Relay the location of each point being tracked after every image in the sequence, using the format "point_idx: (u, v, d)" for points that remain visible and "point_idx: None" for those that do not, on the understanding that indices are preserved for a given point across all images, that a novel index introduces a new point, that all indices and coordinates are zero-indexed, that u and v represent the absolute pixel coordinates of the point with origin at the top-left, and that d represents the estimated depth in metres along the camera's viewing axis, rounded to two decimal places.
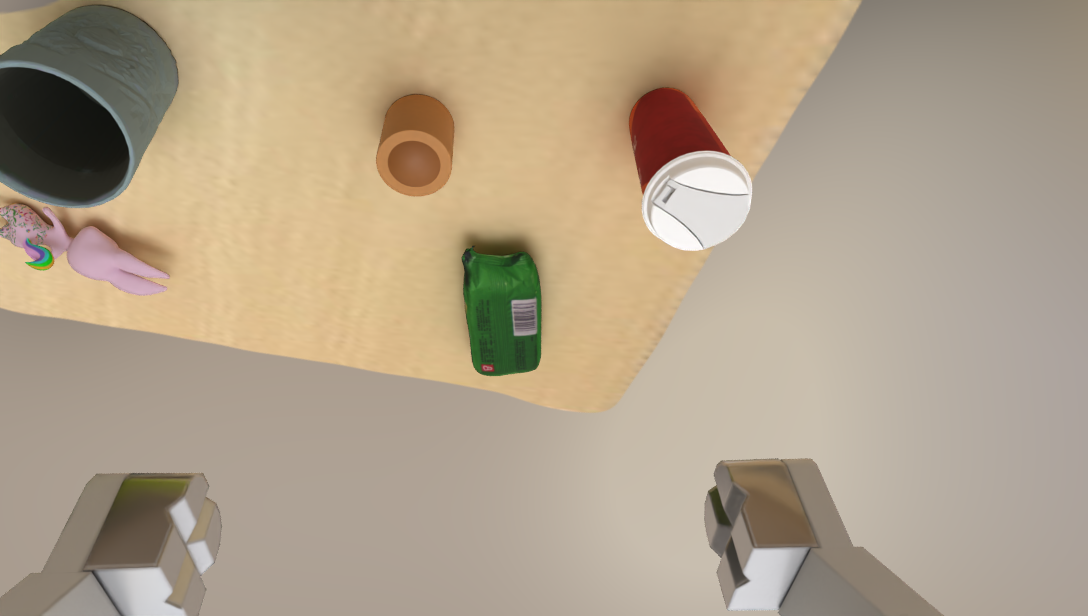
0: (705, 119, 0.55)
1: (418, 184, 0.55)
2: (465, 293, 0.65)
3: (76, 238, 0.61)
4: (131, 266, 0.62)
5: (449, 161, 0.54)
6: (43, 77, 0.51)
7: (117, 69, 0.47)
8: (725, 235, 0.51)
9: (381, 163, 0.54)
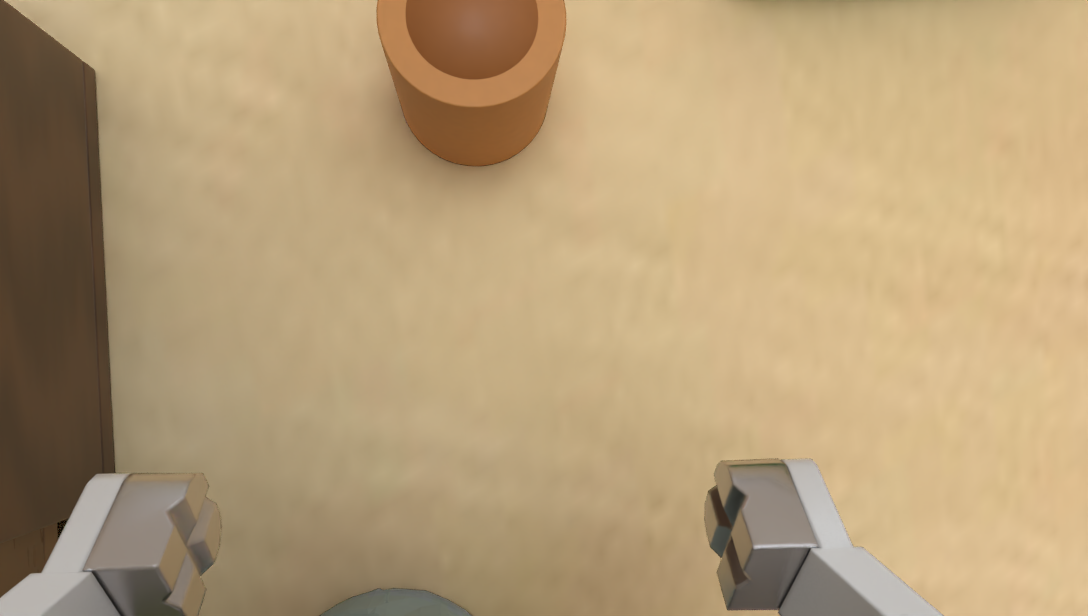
0: None
1: (525, 1, 0.21)
2: None
3: None
4: None
5: None
6: None
7: None
8: None
9: (478, 94, 0.21)
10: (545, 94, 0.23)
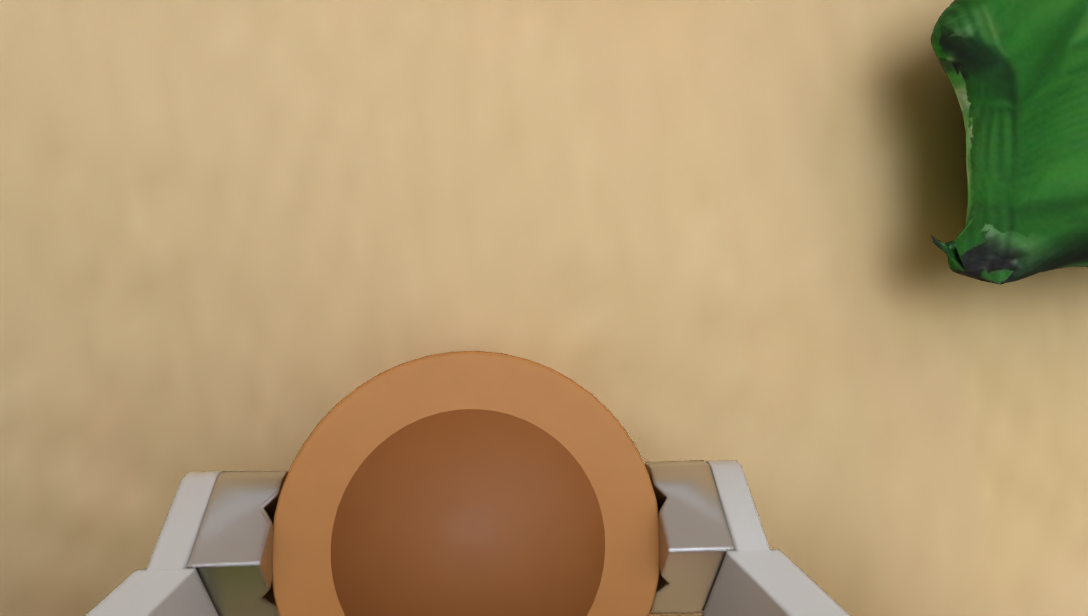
0: None
1: (580, 523, 0.10)
2: None
3: None
4: None
5: (433, 364, 0.11)
6: None
7: None
8: None
9: None
10: None
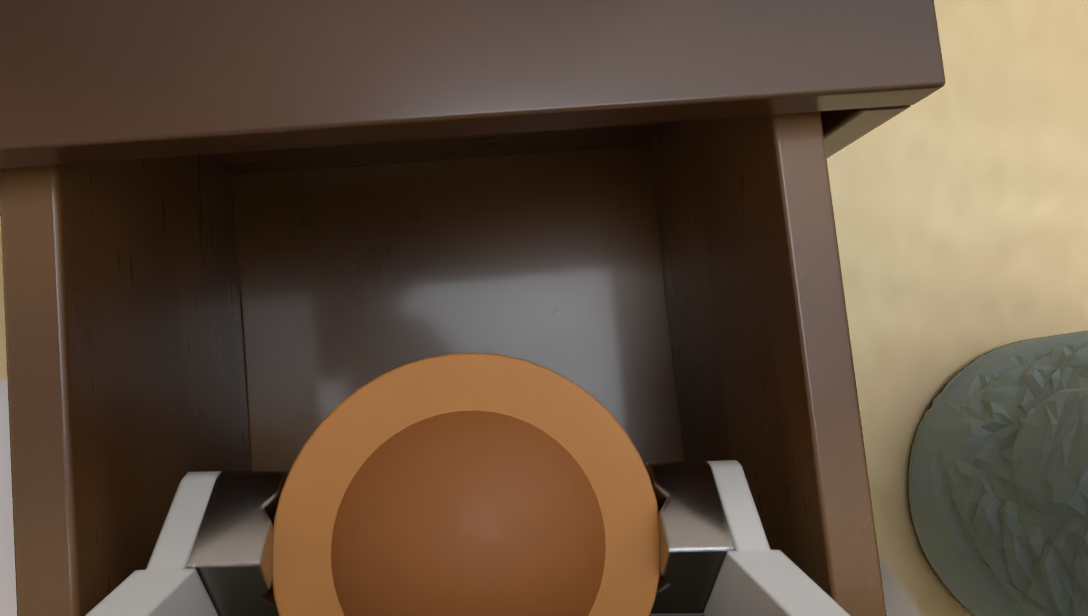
0: None
1: (580, 525, 0.10)
2: None
3: None
4: None
5: (433, 366, 0.10)
6: None
7: None
8: None
9: None
10: None
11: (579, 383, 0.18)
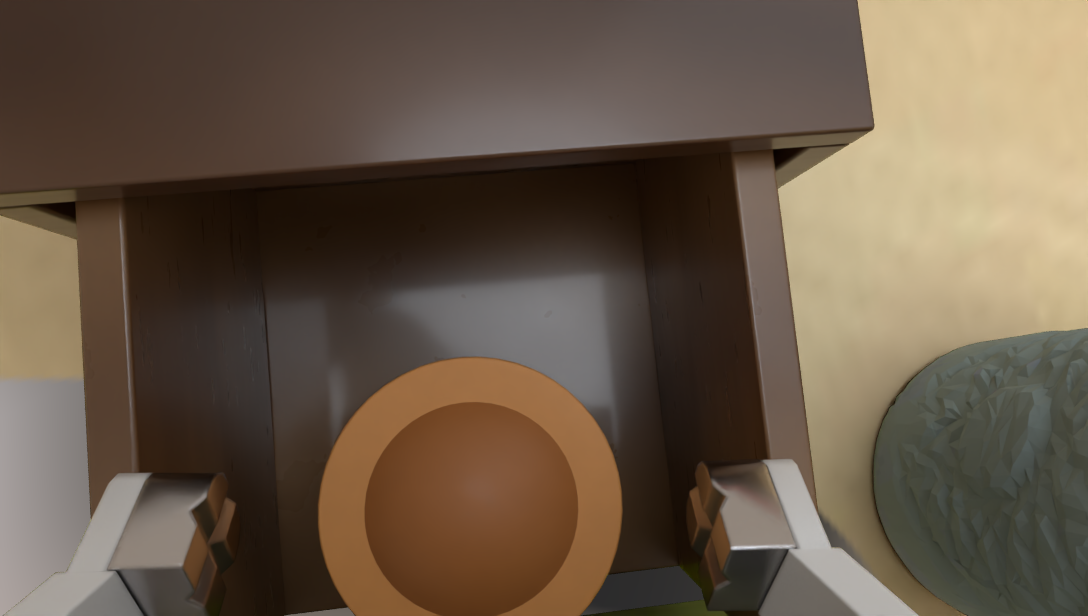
0: None
1: (558, 491, 0.13)
2: None
3: None
4: None
5: (444, 367, 0.13)
6: None
7: None
8: None
9: None
10: None
11: (570, 380, 0.20)
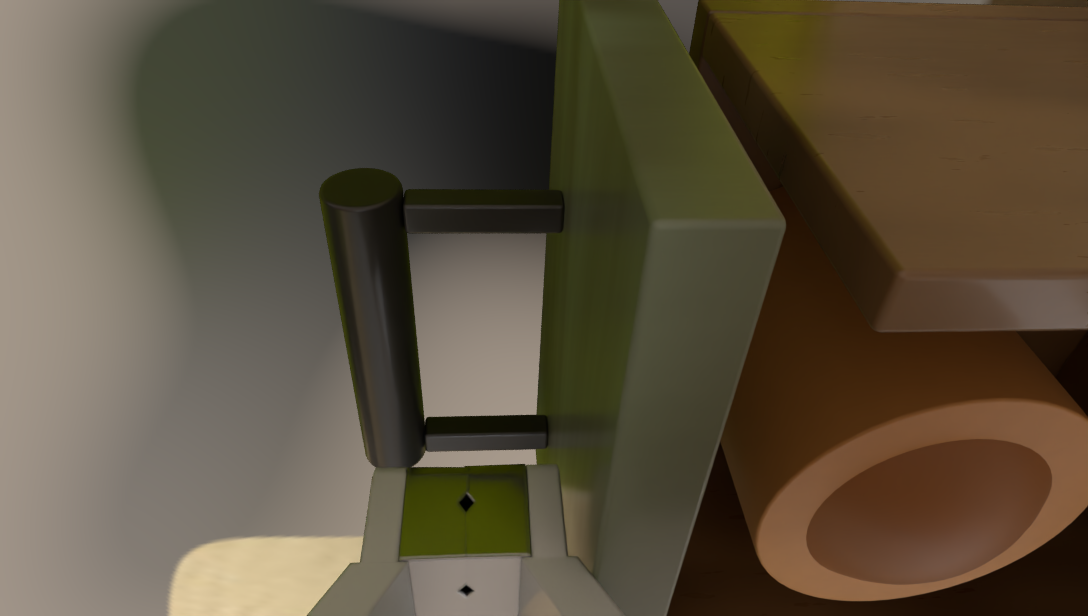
0: None
1: None
2: None
3: None
4: None
5: (1086, 502, 0.12)
6: None
7: None
8: None
9: (783, 519, 0.12)
10: None
11: None
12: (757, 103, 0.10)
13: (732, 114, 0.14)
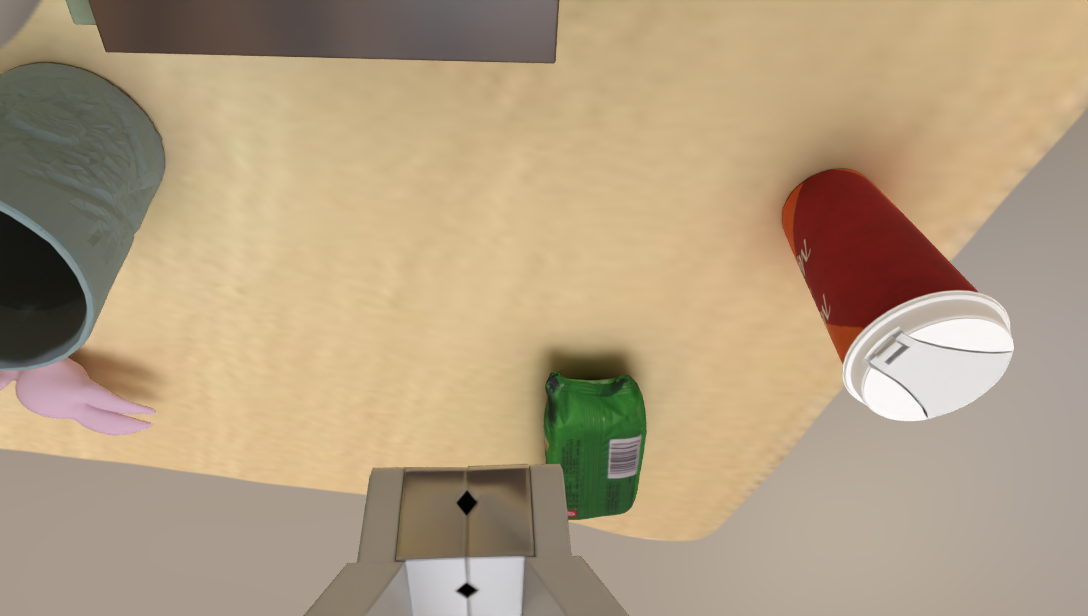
0: (908, 220, 0.39)
1: None
2: (548, 429, 0.49)
3: None
4: (103, 403, 0.46)
5: None
6: None
7: (69, 169, 0.31)
8: (963, 402, 0.35)
9: None
10: None
11: None
12: None
13: None
